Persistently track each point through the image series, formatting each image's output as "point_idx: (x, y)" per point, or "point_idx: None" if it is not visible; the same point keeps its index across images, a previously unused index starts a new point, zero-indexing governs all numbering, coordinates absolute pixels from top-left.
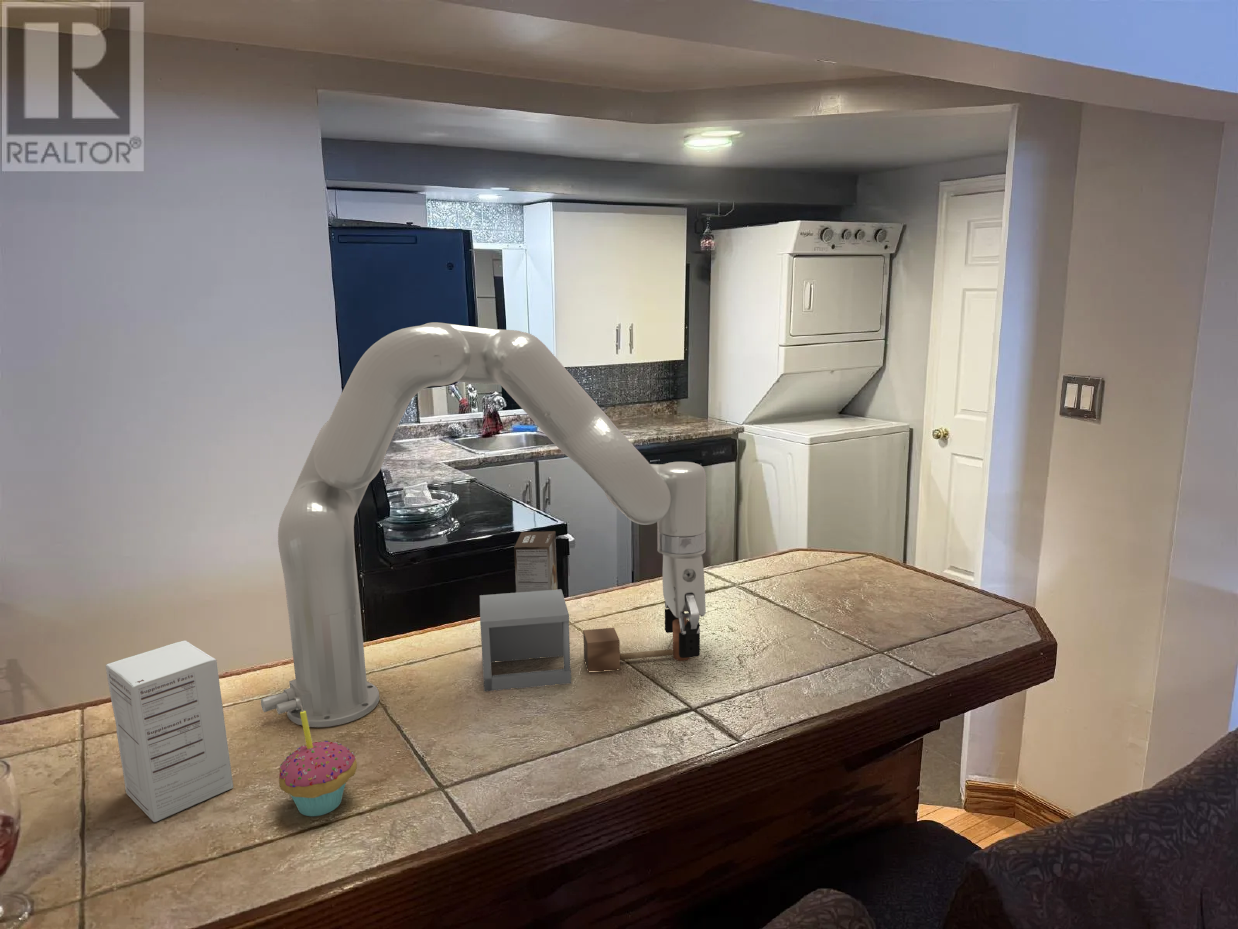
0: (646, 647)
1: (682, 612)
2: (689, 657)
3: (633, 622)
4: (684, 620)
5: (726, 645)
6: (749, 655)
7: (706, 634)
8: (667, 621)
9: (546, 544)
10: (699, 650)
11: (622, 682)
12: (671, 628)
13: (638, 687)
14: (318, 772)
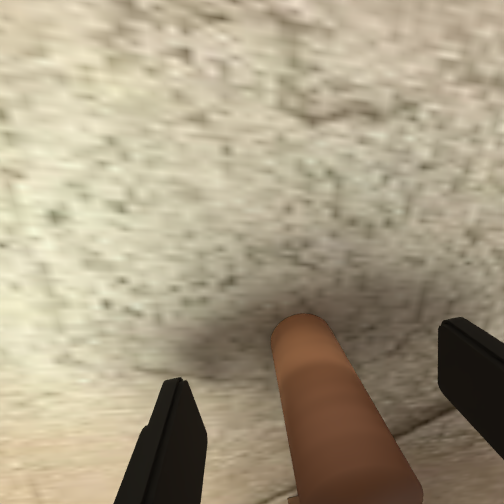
0: (223, 436)
1: (160, 498)
2: (318, 319)
3: (23, 480)
4: (337, 494)
5: (185, 164)
6: (296, 54)
7: (74, 248)
8: (199, 496)
9: None
10: (480, 330)
11: (443, 470)
12: (199, 439)
13: (480, 437)
14: None
